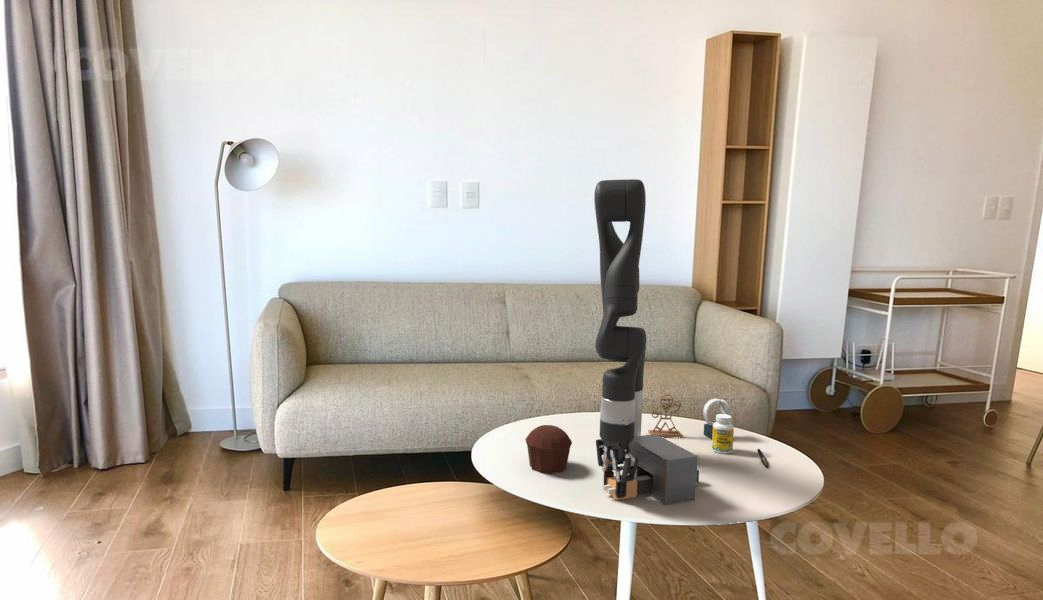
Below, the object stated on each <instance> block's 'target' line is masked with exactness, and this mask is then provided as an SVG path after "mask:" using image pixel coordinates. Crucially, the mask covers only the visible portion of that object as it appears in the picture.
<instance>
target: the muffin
mask: <svg viewBox="0 0 1043 600" xmlns="http://www.w3.org/2000/svg"><path fill="white" fill-rule="evenodd" d="M525 443H526V446H527V454H528V461H529V467H530V468H531V470H532V471H535V472H537V473H540V474H551V475H553V474H557V473H562V472H563V471H565V470H566V469H567V465H568V462H569V461H568V460H569V455H570V450H571V446H572V444H573V442H572V440H571V438H570V437H569V435H568V434H567V432H566V431H564V430H563V429H562V428H560V427H559V426H556V425H552V424H543V425H538V426H537V427H535V428H534V429H532V430H531V431H530V432H529V433H528V435H527V436H526V438H525Z"/></svg>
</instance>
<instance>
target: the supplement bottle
mask: <svg viewBox="0 0 1043 600" xmlns="http://www.w3.org/2000/svg"><path fill="white" fill-rule="evenodd" d="M732 420H733V419H732V415H731V416H730V415H726V414H723V413H717V414H716V415H715V422H714V424H713V434H712V439H711V451H713V452H714V453H717V454H722V455H726V454H727V455H728V454H731V453H733V449H734V433H735V431H734V425H733V423H732Z"/></svg>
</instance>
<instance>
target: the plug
mask: <svg viewBox="0 0 1043 600" xmlns="http://www.w3.org/2000/svg"><path fill="white" fill-rule="evenodd" d="M621 476H622V474H621ZM699 479H700V469H698V468H697V479H696V484H698V483H699V481H700V480H699ZM616 481H617V479H616V475H614V476H613V477H607V485H604V484H603V485H602V491H606V493H607V494H608V495H609V496H611V497H612V498H614V500H616V501H620V500H626V499H631V498H632V499H633V498H636V497H637V496H638V495H639V494H644V493H650V492H652V490H653V475H646V476H640V477H634V480H633V481H627V488H626V496H625V497H622V498H618V497H616Z"/></svg>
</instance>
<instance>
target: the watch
mask: <svg viewBox="0 0 1043 600" xmlns="http://www.w3.org/2000/svg"><path fill="white" fill-rule="evenodd" d="M715 403H717V406H718V408H719V410H720V412H721V414H726V415H730V416H731V417H732V414H733V411H732V408H731V406H730V405H729V403H727V401H726V400H724V399H722V398H721V399H720V398H710V399H709V400H707V402H706V403H705V404H704V406H703V408H702V409H703V410H702V417H703V418H704V421H705V422H706V423H704V424H703V435H704V436H705V437H707V438H708V439H710V440H712V434H713V424H714V423H715V422H714V423H713V421H712V419H711V417H710V414H709V409H710V408H711V406H712V405H713V404H715Z"/></svg>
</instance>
